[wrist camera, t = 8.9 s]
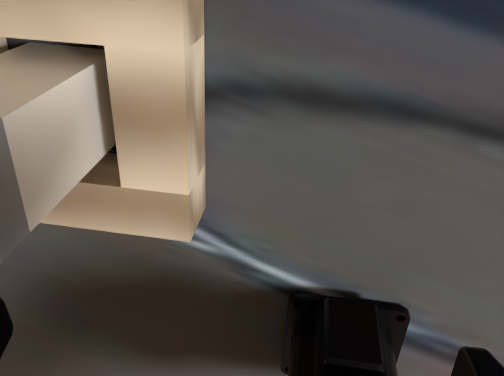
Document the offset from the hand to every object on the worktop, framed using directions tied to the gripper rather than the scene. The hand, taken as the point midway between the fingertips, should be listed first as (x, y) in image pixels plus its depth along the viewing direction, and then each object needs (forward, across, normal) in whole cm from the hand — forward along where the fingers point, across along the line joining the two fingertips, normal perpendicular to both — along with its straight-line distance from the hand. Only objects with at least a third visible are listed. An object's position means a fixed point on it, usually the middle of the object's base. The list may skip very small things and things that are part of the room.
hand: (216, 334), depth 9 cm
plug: (+13, +9, 0) cm, 16 cm away
